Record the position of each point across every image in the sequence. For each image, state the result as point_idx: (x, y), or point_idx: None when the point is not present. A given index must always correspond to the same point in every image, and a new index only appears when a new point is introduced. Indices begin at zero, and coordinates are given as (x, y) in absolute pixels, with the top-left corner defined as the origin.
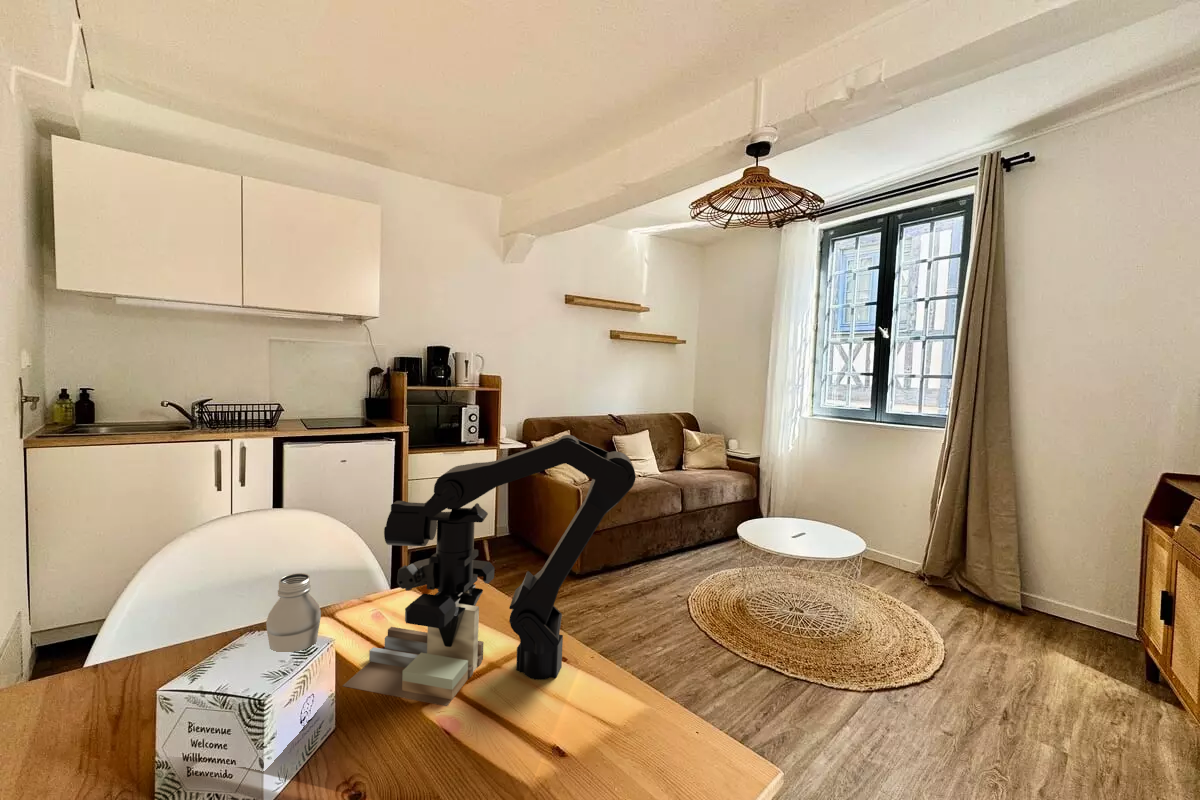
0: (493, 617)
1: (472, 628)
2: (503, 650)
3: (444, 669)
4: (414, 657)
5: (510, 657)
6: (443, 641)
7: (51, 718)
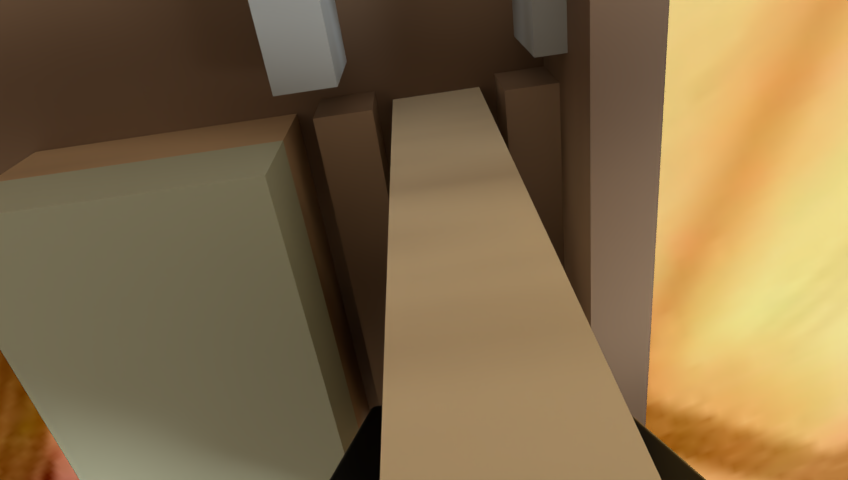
0: None
1: None
2: (770, 388)
3: (183, 477)
4: (279, 59)
5: (702, 447)
6: (349, 449)
7: None
